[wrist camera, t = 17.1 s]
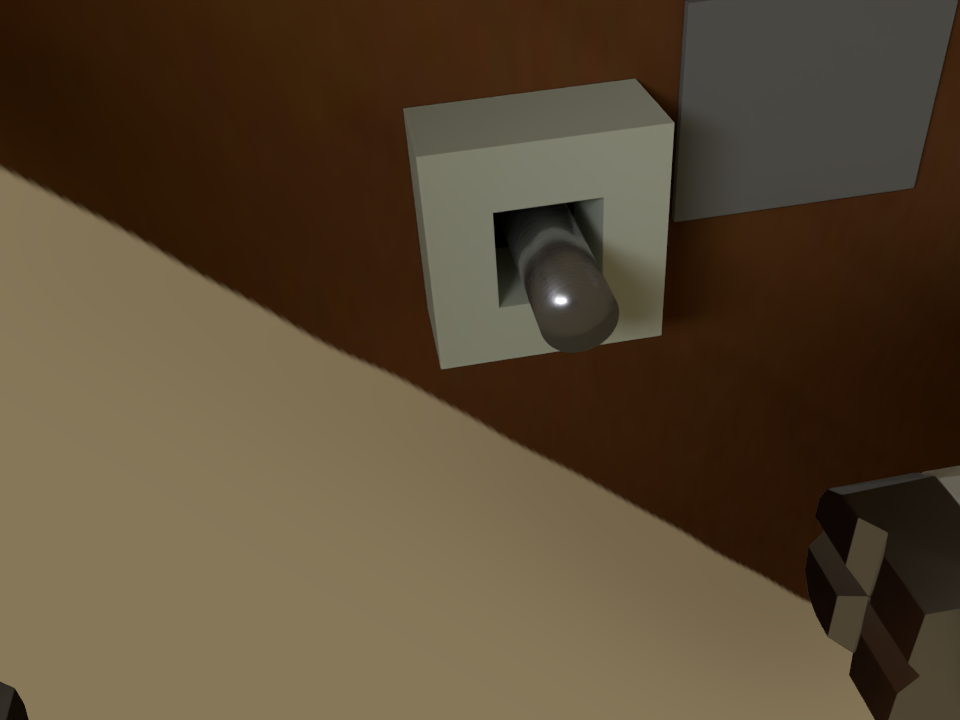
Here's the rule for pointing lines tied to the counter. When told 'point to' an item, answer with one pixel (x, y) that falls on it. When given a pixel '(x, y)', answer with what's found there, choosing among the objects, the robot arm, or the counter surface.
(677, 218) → the mat
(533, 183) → the hole block
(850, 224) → the counter surface
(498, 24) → the counter surface
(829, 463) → the counter surface
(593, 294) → the steel pin
